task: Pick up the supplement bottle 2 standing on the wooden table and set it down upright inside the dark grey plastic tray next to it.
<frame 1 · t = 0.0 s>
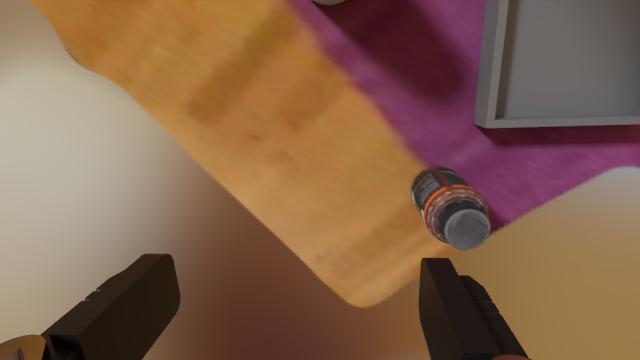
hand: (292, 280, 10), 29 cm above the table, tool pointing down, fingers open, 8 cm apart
tray: (565, 40, 33), on the table
supplement bottle: (434, 187, 39), on the table
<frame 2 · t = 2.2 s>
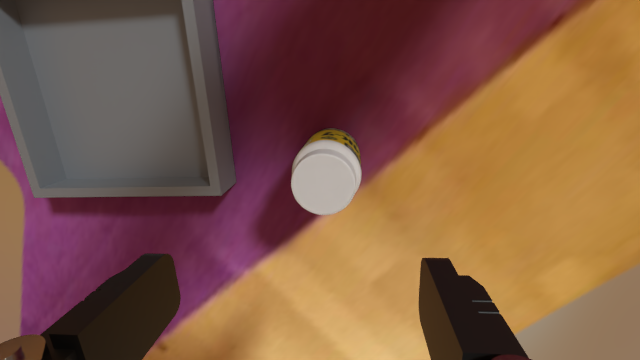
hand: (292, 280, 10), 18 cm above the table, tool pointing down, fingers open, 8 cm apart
tray: (130, 91, 27), on the table
supplement bottle 2: (331, 154, 28), on the table
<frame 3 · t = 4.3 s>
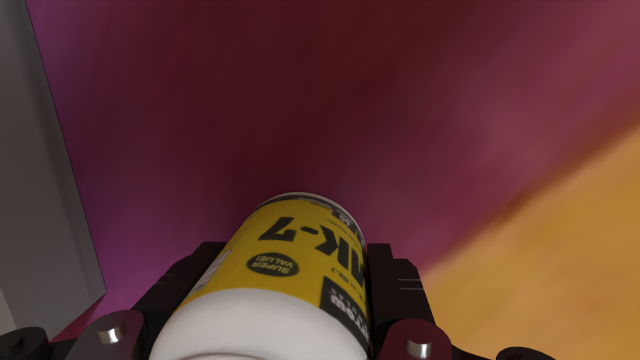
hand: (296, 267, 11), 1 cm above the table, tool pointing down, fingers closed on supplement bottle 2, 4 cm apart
supplement bottle 2: (303, 244, 12), on the table, touching gripper
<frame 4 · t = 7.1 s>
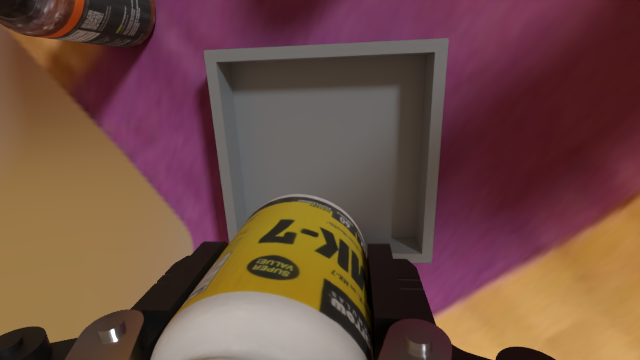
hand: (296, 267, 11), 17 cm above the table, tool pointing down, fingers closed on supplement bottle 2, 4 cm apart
tray: (328, 153, 27), on the table
supplement bottle 2: (303, 245, 12), point 16 cm above the table, touching gripper
supplement bottle: (125, 9, 26), on the table
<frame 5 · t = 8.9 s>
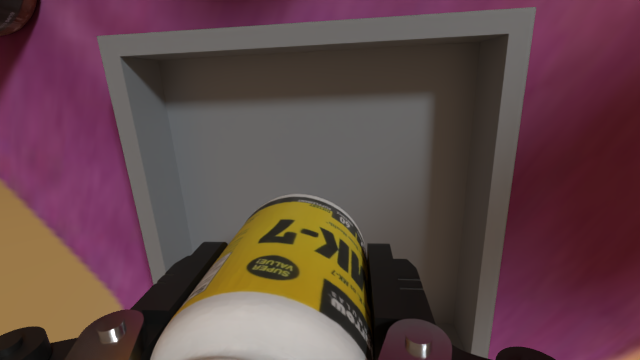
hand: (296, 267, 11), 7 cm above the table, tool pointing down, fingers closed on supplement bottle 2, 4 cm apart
tray: (319, 197, 18), on the table
supplement bottle 2: (303, 245, 12), point 6 cm above the table, touching gripper
when the fingers open (4 cm above the table, at t = 10.1 s): supplement bottle 2 drops 2 cm, resting on tray.
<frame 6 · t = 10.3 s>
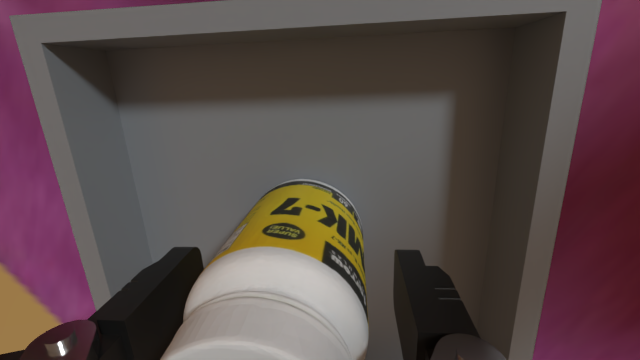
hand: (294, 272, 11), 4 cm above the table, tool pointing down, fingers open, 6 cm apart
tray: (310, 220, 15), on the table
supplement bottle 2: (307, 226, 14), point 1 cm above the table, touching tray
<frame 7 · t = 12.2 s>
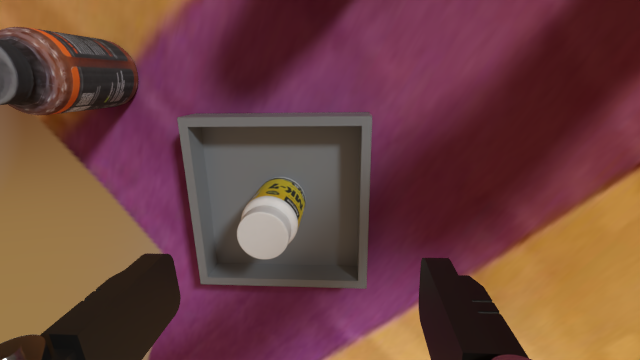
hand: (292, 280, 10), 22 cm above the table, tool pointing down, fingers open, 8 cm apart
tray: (284, 195, 33), on the table
supplement bottle 2: (282, 197, 32), point 1 cm above the table, touching tray
supplement bottle: (112, 74, 31), on the table
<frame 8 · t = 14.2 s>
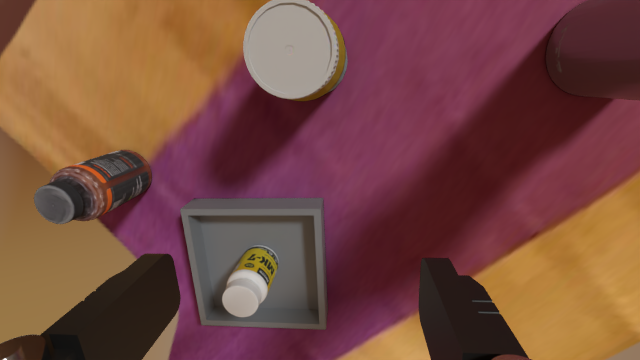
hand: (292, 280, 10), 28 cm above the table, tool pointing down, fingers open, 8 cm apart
bottle: (315, 62, 35), on the table
tray: (263, 256, 43), on the table
supplement bottle 2: (261, 259, 42), point 1 cm above the table, touching tray
supplement bottle: (132, 171, 41), on the table
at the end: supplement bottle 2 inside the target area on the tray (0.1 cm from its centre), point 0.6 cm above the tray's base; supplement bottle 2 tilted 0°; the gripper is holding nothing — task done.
